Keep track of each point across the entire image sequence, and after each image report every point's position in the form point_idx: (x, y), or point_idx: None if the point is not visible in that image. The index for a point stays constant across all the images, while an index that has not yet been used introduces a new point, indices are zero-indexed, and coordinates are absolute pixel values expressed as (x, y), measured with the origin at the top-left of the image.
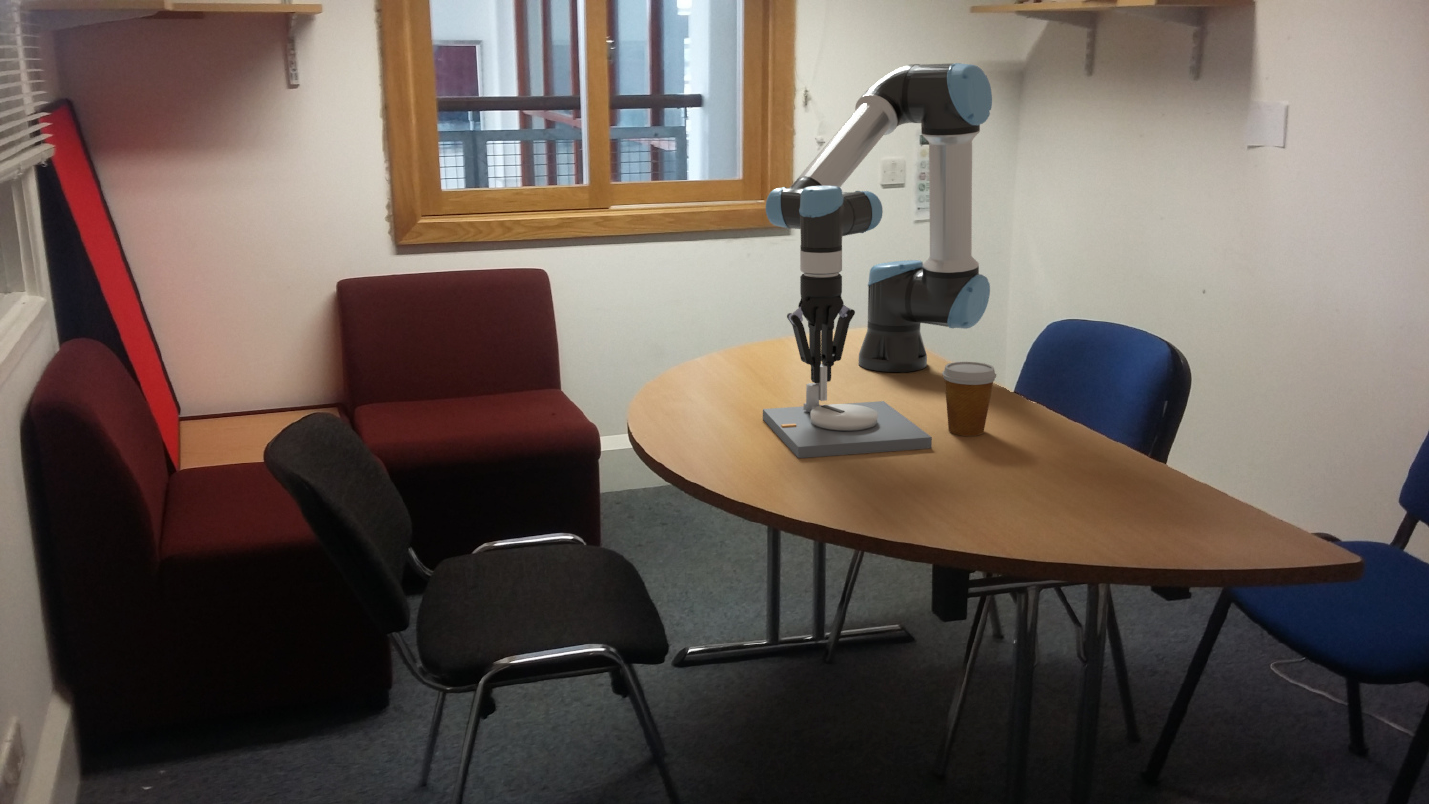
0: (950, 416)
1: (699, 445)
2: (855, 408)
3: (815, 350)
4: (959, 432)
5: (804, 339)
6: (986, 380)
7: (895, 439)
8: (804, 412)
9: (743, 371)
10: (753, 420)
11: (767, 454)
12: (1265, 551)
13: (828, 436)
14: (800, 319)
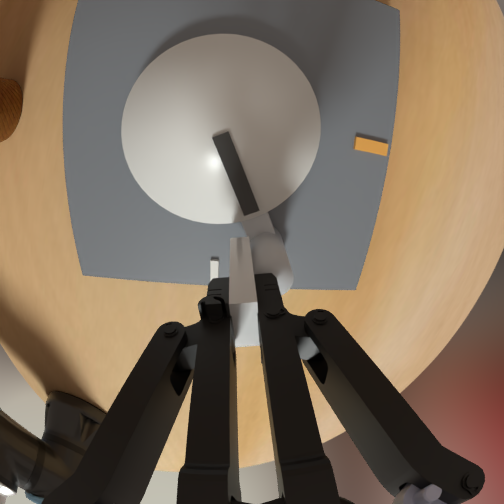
0: (2, 98)
1: (487, 171)
2: (167, 165)
3: (297, 360)
4: (14, 83)
5: (380, 401)
6: None
7: None
8: (284, 242)
9: (256, 441)
10: (366, 275)
11: (429, 66)
12: None
13: (311, 31)
14: (440, 492)
